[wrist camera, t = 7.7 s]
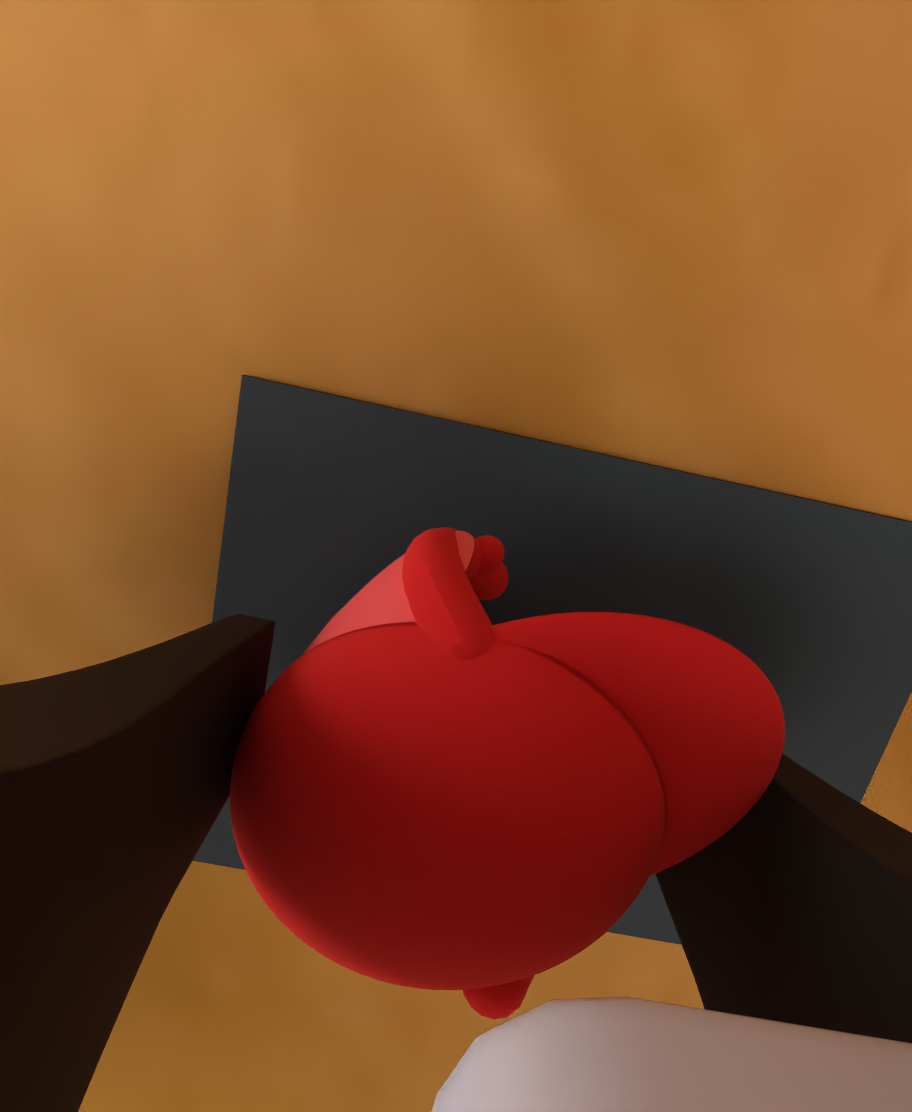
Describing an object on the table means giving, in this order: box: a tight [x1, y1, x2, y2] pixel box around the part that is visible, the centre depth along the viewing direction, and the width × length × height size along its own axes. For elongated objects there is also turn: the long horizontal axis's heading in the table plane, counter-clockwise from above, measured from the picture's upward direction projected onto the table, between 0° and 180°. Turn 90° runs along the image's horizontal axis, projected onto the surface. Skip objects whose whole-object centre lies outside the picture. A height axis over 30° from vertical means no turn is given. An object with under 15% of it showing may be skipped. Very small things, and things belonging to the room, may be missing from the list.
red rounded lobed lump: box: [230, 527, 785, 1019], centre depth 10 cm, size 8×6×6 cm
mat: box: [192, 375, 912, 944], centre depth 14 cm, size 14×10×1 cm
